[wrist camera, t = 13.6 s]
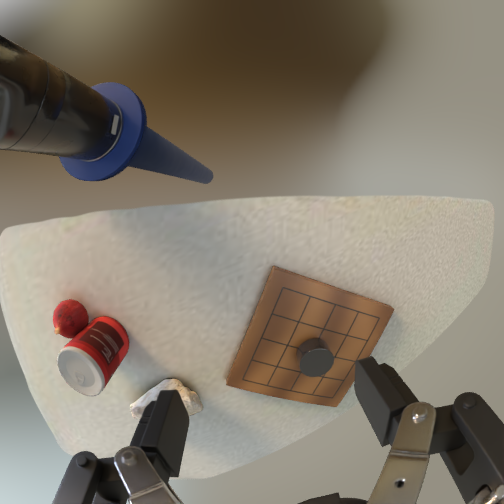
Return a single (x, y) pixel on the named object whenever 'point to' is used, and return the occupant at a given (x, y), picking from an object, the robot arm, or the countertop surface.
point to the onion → (70, 318)
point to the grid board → (306, 338)
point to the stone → (187, 396)
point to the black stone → (314, 357)
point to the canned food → (93, 355)
